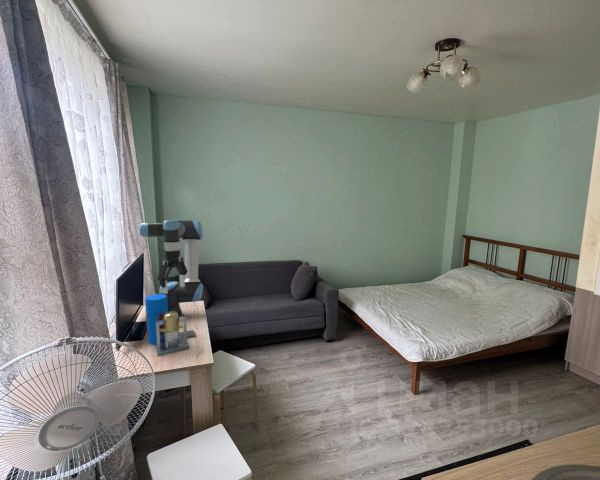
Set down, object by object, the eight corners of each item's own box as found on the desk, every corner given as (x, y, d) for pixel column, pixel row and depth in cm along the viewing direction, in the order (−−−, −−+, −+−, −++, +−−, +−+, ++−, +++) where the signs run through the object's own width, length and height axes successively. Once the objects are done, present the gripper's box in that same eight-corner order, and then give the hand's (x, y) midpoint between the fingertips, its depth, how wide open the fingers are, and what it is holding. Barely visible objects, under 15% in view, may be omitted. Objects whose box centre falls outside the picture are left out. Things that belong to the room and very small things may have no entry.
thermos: (145, 339, 171) (143, 296, 167) (165, 334, 178) (163, 292, 174) (150, 346, 162) (148, 301, 159) (171, 340, 169) (169, 297, 166)
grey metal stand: (156, 346, 163) (154, 318, 161) (186, 340, 170) (185, 313, 168) (157, 356, 153) (155, 326, 151) (189, 349, 160) (188, 320, 158)
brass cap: (160, 334, 154) (160, 317, 153) (160, 329, 161) (159, 313, 159) (183, 330, 159) (182, 314, 158) (181, 325, 166) (181, 309, 164)
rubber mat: (179, 334, 178) (178, 332, 178) (193, 331, 181) (193, 329, 181) (180, 339, 171) (180, 338, 171) (195, 336, 174) (195, 335, 174)
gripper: (181, 246, 171) (183, 283, 173) (148, 253, 147) (150, 295, 150) (193, 247, 169) (194, 284, 171) (161, 253, 145) (163, 297, 148)
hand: (173, 289), depth 160 cm, fingers open, 13 cm apart
